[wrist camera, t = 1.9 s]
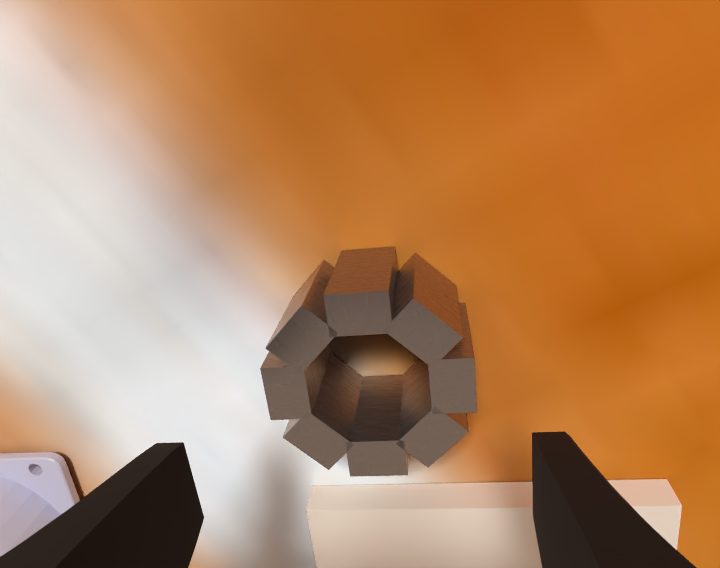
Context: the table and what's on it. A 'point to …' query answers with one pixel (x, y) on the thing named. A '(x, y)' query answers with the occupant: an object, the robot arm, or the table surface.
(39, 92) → the table surface
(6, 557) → the robot arm
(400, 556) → the gear board
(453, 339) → the steel gear
